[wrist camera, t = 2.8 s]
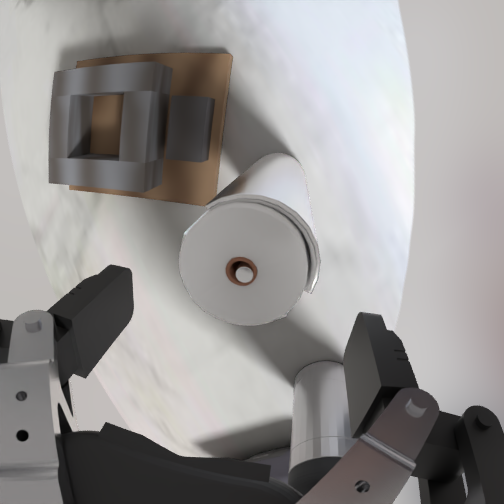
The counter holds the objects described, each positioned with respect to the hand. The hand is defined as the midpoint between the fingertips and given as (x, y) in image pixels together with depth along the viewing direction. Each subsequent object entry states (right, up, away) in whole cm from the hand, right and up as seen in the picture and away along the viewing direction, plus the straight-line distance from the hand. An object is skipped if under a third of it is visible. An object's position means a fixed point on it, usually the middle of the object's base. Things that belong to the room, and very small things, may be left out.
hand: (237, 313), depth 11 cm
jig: (-13, +18, +25) cm, 34 cm away
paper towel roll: (+4, +10, +26) cm, 28 cm away
